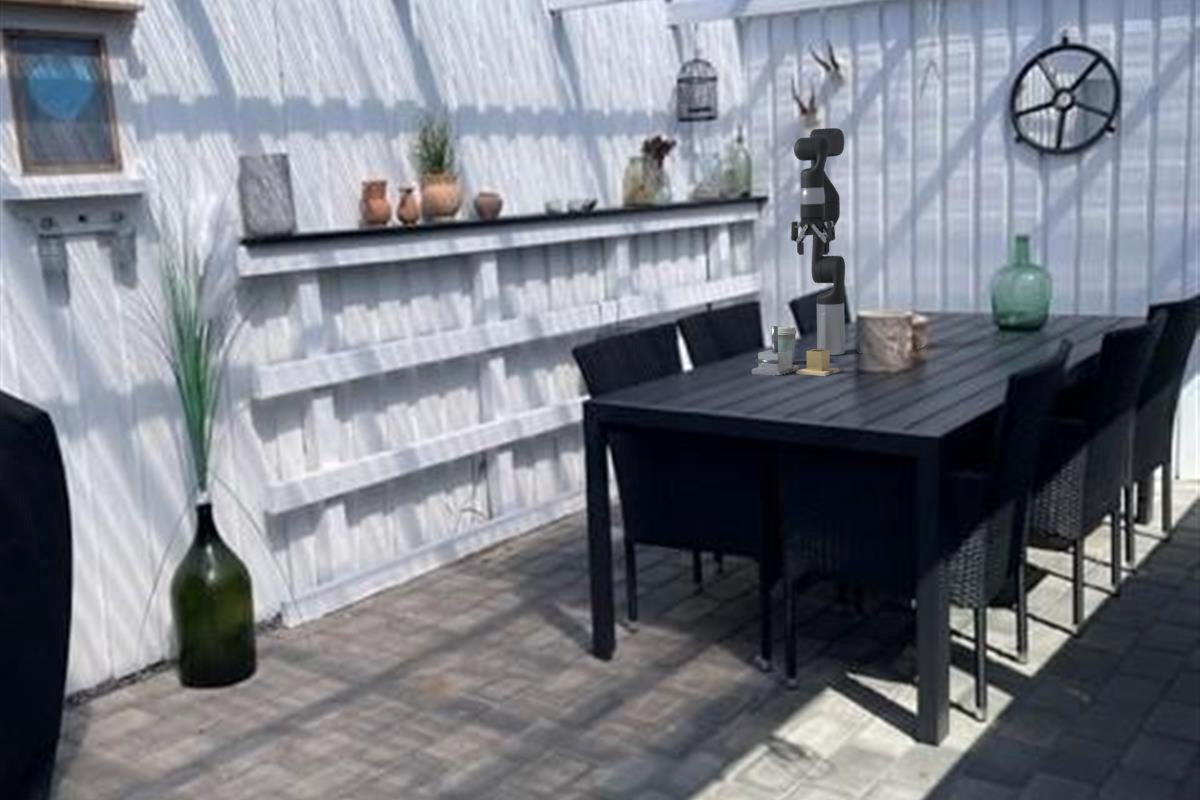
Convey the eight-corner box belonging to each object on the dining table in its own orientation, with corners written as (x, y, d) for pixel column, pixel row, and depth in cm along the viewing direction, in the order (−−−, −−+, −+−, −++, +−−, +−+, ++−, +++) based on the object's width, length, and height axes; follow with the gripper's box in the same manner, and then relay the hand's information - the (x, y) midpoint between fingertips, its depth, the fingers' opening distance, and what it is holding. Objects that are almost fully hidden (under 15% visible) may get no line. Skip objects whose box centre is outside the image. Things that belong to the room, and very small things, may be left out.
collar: (814, 367, 405) (814, 348, 404) (829, 368, 401) (829, 349, 400) (806, 370, 401) (806, 351, 400) (821, 371, 397) (821, 352, 396)
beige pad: (811, 369, 408) (811, 366, 408) (840, 371, 402) (840, 368, 402) (796, 374, 400) (796, 370, 400) (825, 376, 394) (824, 372, 394)
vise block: (771, 368, 414) (770, 323, 411) (798, 370, 408) (798, 324, 405) (751, 373, 404) (750, 328, 402) (779, 375, 398) (778, 329, 396)
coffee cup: (789, 366, 416) (788, 329, 414) (766, 364, 421) (765, 328, 419) (802, 362, 423) (801, 326, 421) (779, 360, 428) (778, 325, 426)
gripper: (838, 201, 399) (839, 253, 402) (798, 202, 408) (799, 253, 411) (827, 202, 393) (827, 255, 396) (786, 203, 402) (787, 255, 405)
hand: (813, 254), depth 403 cm, fingers open, 8 cm apart
